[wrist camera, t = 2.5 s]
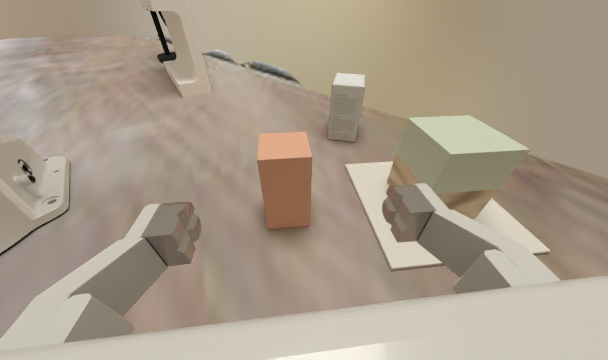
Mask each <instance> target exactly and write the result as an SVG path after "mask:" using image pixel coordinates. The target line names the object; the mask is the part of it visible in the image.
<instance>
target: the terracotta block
mask: <svg viewBox="0 0 608 360" xmlns="http://www.w3.org/2000/svg"><path fill="white" fill-rule="evenodd" d="M257 163H258V169H259V175H260V181H261V188H262V194H263V200H264V206H265V213H266V219H267V225H268V229H278V228H290V227H302V226H310V202H311V177H312V154H311V150H310V146H309V142H308V138H307V135H306V132H291V133H269V134H260V136H259V146H258V156H257Z"/></svg>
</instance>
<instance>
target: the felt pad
mask: <svg viewBox="0 0 608 360" xmlns="http://www.w3.org/2000/svg"><path fill="white" fill-rule="evenodd" d="M392 165H393V162H379V163H362V164H345V168H346V170H347V172H348V174H349V177H350V179H351V181H352V183H353V186H354V188H355V190H356V193H357V195H358V197H359V199H360V202H361V204H362V206H363V208H364V211H365V213H366V215H367V217H368V220H369V222H370V224H371V226H372V229H373V231H374V233H375V235H376V238H377V240H378V242H379V244H380V247H381V249H382V251H383V253H384V256H385V258H386V260H387V262H388V265H389V267H390V269H391V270H398V269H407V268H416V267H425V266H434V265H444V264H443V263H442V262H441V261H439V260H438V259H437V258H436V257H434V256H433V255H432V254H431V253H429V252H428V251H427V250H426V249H425V248H423V247H422V246H421V245H420V244H418V243H417V241H413V242H399V243H397V241H396V239H395V237H394V235H393V234H392V232H391V230H390V229H391V226H392V225H391V224H389V223H388V222H386V220H385V218H384V216H383V213H382V205H383V201H384V200H385V199H386V198H387V197H388V196H387V194H386V192H387V189H388V188H389V185H388V183H387V180H388V177H389V174H390V171H391V168H392ZM473 220H475V221H477V222H478V223H480V224H482V225H484V226H486V227H488V228H490V229H492V230H494V231H496V232H498V233H500V234H502V235H504V236H506V237H508V238H510V239H512V240H514V241H516V242H518V243H520V244H522V245H524V246H525V247H526V248H527V249H528V250H529V251H530V252H531V253H532V254H533V255H535V254H544V253H549V252H550V250H549V249H548V248H547V247H546V246H545V245H544V244H542V243H541V242H540V241H539V240H538V239H537V238H536V237H535V236H533V235H532V234H531V233H530V232H529V231H528V230H527V229H526V228H525V227H523V226H522V225H521V224H520V223H519V222H518V221H517V220H516V219H514V218H513V217H512V216H511V215H510V214H509V213H508V212H507V211H505V210H504V209H503V208H502V207H501V206H500V205H499V204H498V203H496V202H495V201H494V200H493V199H492V198H491V199H490V201H489V202H488V203H487V204H486V206H485V207H484V208H483V209H482V211H481V212H480V213H479V215H478V216H477V217H476V218H475V219H473Z"/></svg>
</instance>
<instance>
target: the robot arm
mask: <svg viewBox="0 0 608 360" xmlns="http://www.w3.org/2000/svg"><path fill="white" fill-rule="evenodd" d="M69 176H70V162H69V160H68V159H67V158H65V157H60V156H51V157H39V156H38V155H37V154H36V153H35V152H34V151H33V150H32V149H31V148H30V147H29V146H28V145H27V144H26V143H25V142H23V141H22V140H20V139H18V138H15V137H12V136H6V135H0V253H1V252H3V251H4V250H6V249H7V248H9V247H10V246H12V245H13V244H15V243H16V242H17V241H19V240H20V239H21V238H23V237H24V236H25V235H27V234H28V233H29V232H31V231H32V230H34V229H35V228H37V227H38V226H40V225H42V224H44V223H46V222H48V221H50V220H52V219H53V218H55V217H57V216H59V215H60V214H62V213H63V212H65V211H66V210H67V209H68V207H69ZM386 194H387V196H388V197H387V198H386V199H385V200H384V201H383V205H382V213H383V216H384V218H385V220H386V222H388V223H389V224H391V225H392V226H391V229H390V230H391V232H392V234H393V235H394V237H395V239H396V241H397V243H399V242H413V241H417V243H418V244H420V245H421V246H422V247H423V248H425V249H426V250H427V251H428V252H429V253H431V254H432V255H433V256H434V257H436V258H437V259H438V260H439V261H441V262H442V263H443V264H444V265H446V266H447V267H448V268H449V269H450V270H452V271H453V272H454V273H455V274H457V275H458V276H459V277H460V278H459V279H458V280H457V281H456V282H455V283H454V285H453V287H452V288H453V290H454V291H455V293H456V294H451V295H443V296H435V297H427V298H419V299H410V300H402V301H394V302H386V303H378V304H370V305H362V306H354V307H346V308H338V309H330V310H322V311H314V312H306V313H298V314H290V315H282V316H274V317H266V318H258V319H250V320H242V321H234V322H226V323H218V324H210V325H202V326H194V327H186V328H178V329H170V330H162V331H154V332H146V333H138V334H132V331H133V329H134V325H133V323H131V322H130V321H129V320H127V319H126V318H124V317H123V316H124V315H125V314H126V313H127V311H128V310H129V309H130V308H131V307H132V306H133V305H134V304H135V303H136V302H137V301H138V299H139V298H140V297H141V296H142V295H143V294H144V293H145V292H146V291H147V290H148V289H149V287H150V286H151V285H152V284H153V283H154V282H155V281H156V280H157V279H158V278H159V277H160V275H161V274H162V273H163V272H164V271H165V270H166V269H167V268H168V267H167V266H175V265H183V264H191V261H192V258H193V255H194V252H195V249H196V248H195V246H194V243H195V242H196V241H197V240H198V239H199V236H200V233H201V223H200V219H199V217H198V216H197V215H196V214H194V213H193V211H194V209H195V208H194V207H193V205H192V203H191V202H177V203H162V204H149V205H147V206H145V207H144V209H143V210H142V212H141V213H140V215H139V217H138V218H137V220H136V221H135V223H134V224H133V226H132V227H131V229H130V230H129V232H128V233H127V235H126V236H125V238H124V239H122V240H118V241H116V242H115V243H114V244H112V245H111V246H109V247H108V248H106V249H105V250H103V251H102V252H100V253H99V254H98V255H96V256H95V257H93V258H92V259H90V260H89V261H87V262H86V263H85V264H83V265H82V266H80V267H79V268H77V269H76V270H74V271H73V272H71V273H70V274H69V275H67V276H66V277H64V278H63V279H61V280H60V281H58V282H57V283H55V284H54V285H53V286H51V287H50V288H48V289H47V290H45V291H44V292H42V293H41V294H39V295H38V296H37V297H35V298H34V299H33V300H32V302H31V303H30V304H29V305H28V306H27V308H26V309H25V310H24V311H23V312H22V314H21V315H20V316H19V317H18V318H17V320H16V321H15V322H14V323H13V325H12V326H11V327H10V328H9V329H8V331H7V332H6V333H5V334H4V335H3V337H2V338H1V339H0V360H608V275H603V276H595V277H587V278H579V279H571V280H563V281H561V280H560V279H559V278H558V277H557V276H555V275H554V274H553V273H552V272H551V271H550V270H549V269H548V268H547V267H546V266H545V265H544V264H543V263H542V262H541V261H540V260H539V259H538V258H537V257H535V256H534V255H533V254H532V253H531V252H530V251H529V250H528V249H527V248H526V247H525V246H524V245H522V244H520V243H518V242H516V241H514V240H512V239H510V238H508V237H506V236H504V235H502V234H500V233H498V232H496V231H494V230H492V229H490V228H488V227H486V226H484V225H482V224H480V223H478V222H477V221H475V220H473V219H471V218H469V217H467V216H465V215H463V214H461V213H459V212H457V211H455V210H449V209H448V207H447V206H446V205H445V204H444V203H443V202H442V201H441V199H440V198H439V197H438V196H437V195H436V194H435V193H434V191H433V190H432V189H431V188H430V187H429V186H428V185H427V184H425V183H419V184H409V185H397V186H389V188H388V189H387V192H386Z"/></svg>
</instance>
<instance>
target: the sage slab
mask: <svg viewBox="0 0 608 360" xmlns="http://www.w3.org/2000/svg"><path fill="white" fill-rule="evenodd" d="M529 150H530V149H528V148H526V147H525V146H523V145H521V144H519V143H518V142H515V141H514V140H512V139H511V138H509V137H507V136H505V135H504V134H502V133H500V132H498V131H497V130H495V129H493V128H491V127H489V126H488V125H486V124H484V123H482V122H481V121H479V120H477V119H475V118H474V117H472V116H469V115H467V116H443V117H418V118H408V120H407V123H406V126H405V129H404V132H403V135H402V138H401V141H400V144H399V147H398V150H397V153H396V154H397V155H398V156H399V157H400V159H401V160H402V161H403V162H404V164H405V165H406V166H407V167H408V168H409V170H410V171H411V172H412V173H413V174H414V176H415V177H416V178H417V179H418V181H419V182H420V183H425V184H427V185H428V186H429V187H430V188H431V189H432V190H433V191H434V193H435V194H441V193H454V192H467V191H480V190H493V189H499V188H500V187H501V186H502V184H503V183H504V182H505V181H506V179H507V178H508V177H509V176H510V174H511V173H512V172H513V171H514V169H515V168H516V167H517V166H518V164H519V163H520V162H521V160H522V159H523V158H524V157H525V155H526V154H527V153H528V152H529Z"/></svg>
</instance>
